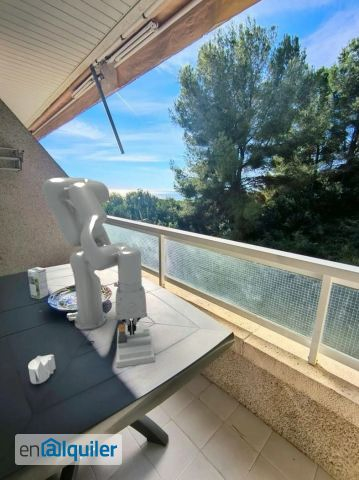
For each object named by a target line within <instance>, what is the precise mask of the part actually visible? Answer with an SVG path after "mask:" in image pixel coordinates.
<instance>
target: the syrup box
mask: <svg viewBox="0 0 359 480" xmlns="http://www.w3.org/2000/svg"><path fill="white" fill-rule="evenodd" d="M27 276H28V282H29V290H30V297H31V298H33V299H36V300H41V299H42V298H45V297H47V296H48V295H50V294H49V287H48V279H47V278H48V277H47V270H46V268H44V267H39V266H37V267H33V268H30V269H28V270H27Z"/></svg>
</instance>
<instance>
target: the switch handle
mask: <svg viewBox="0 0 359 480" xmlns="http://www.w3.org/2000/svg"><path fill="white" fill-rule="evenodd" d="M125 327H126V323H124V324H118V328H119V336H118V344H119V343H127V335H125Z"/></svg>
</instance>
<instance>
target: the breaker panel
mask: <svg viewBox="0 0 359 480" xmlns="http://www.w3.org/2000/svg"><path fill="white" fill-rule="evenodd" d="M125 335H127V343H119V344H118V336H119V327H117V335H116V336H117V338H116V360H115V361H116V363H115V365H116V368H124V367H128V366H135V365H143V364H149V363H155V351H154V346H153V341H152V340H153V339H152V334H151V329H150V324H149V323H146V324H140V325H139V324H138V325H136V331H134V335H130V332H128V328H127V326H125Z"/></svg>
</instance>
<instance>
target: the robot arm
mask: <svg viewBox="0 0 359 480" xmlns="http://www.w3.org/2000/svg"><path fill="white" fill-rule="evenodd" d="M42 193H43V197H44V201H45V203H46V205H47V206H48V208H49V209H50V211H51V212H52V214H53V215H54V217H55V219H56V221H57V224H58V226H59V228H60V231H61V233H62V235H63V237H64V240H65V242H66V244H67V245H68V247H71V248H78V247H80V249H77V250H75V251H74V252H72V253H71V255H70V256H69V264H70V267H71V272H72V275H73V279H74V287H75V295H76V296H75V297H76V305H77V306H76V307H77V311H75V312H68V313H67V314H66V318H67V319H68V320H69V321H70V322H71V321H74V326H75V327H76V328H77V329H79V330H83V331H88V330H95V329H97V328H100V327H101V326H103V325H104V324H105V323H106V322H107V320H108V315H107V314H106V312H105V311H104V310H103V297H102V296H103V295H102V285H101V279H100V277H99V275H97V274H96V273H95V271H98V272H99V271H104V270H108V269H110V268H115V267H117V274H118V275H117V276H118V277H117V278H118V280H117V281H115V282H113V287H117V288H116V291H115V321H121V322H123V323H124V324H125V325H126V327H127V328H128V332H130V335H134V331H136V326H137V324H138V322H139V321H141V319H144V318H147V317H148V311H147V296H146V291H145V287H144V286H143V283H142V282H143V281H142V280H143V279H142V278H143V277H142V276H143V275H142V274H143V273H142V252H141V250H140V249H139V248H137V247H133V246H132V247H131V246H130V245H128V244H126V243H125V242H116V243H111V240H110V238H109V235H108V233H107V231H106V230H107V229H106V228H105V226H104V225H103V224H104V223H105V222H106V221H107V219H108V215H107V213H106V210H105V209H104V207H103V204H106V203H108V201H109V199H110V191H109V189H108V187H107V185H106V184H104V183H103V182H101V181H98V180H94V179H90V178H85V177H51V178H48V179H46V180H45V181H44V183H43V186H42ZM68 200H69V201H71V203H72V204H71V203H70V202H68ZM131 319H132V320H131Z"/></svg>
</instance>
